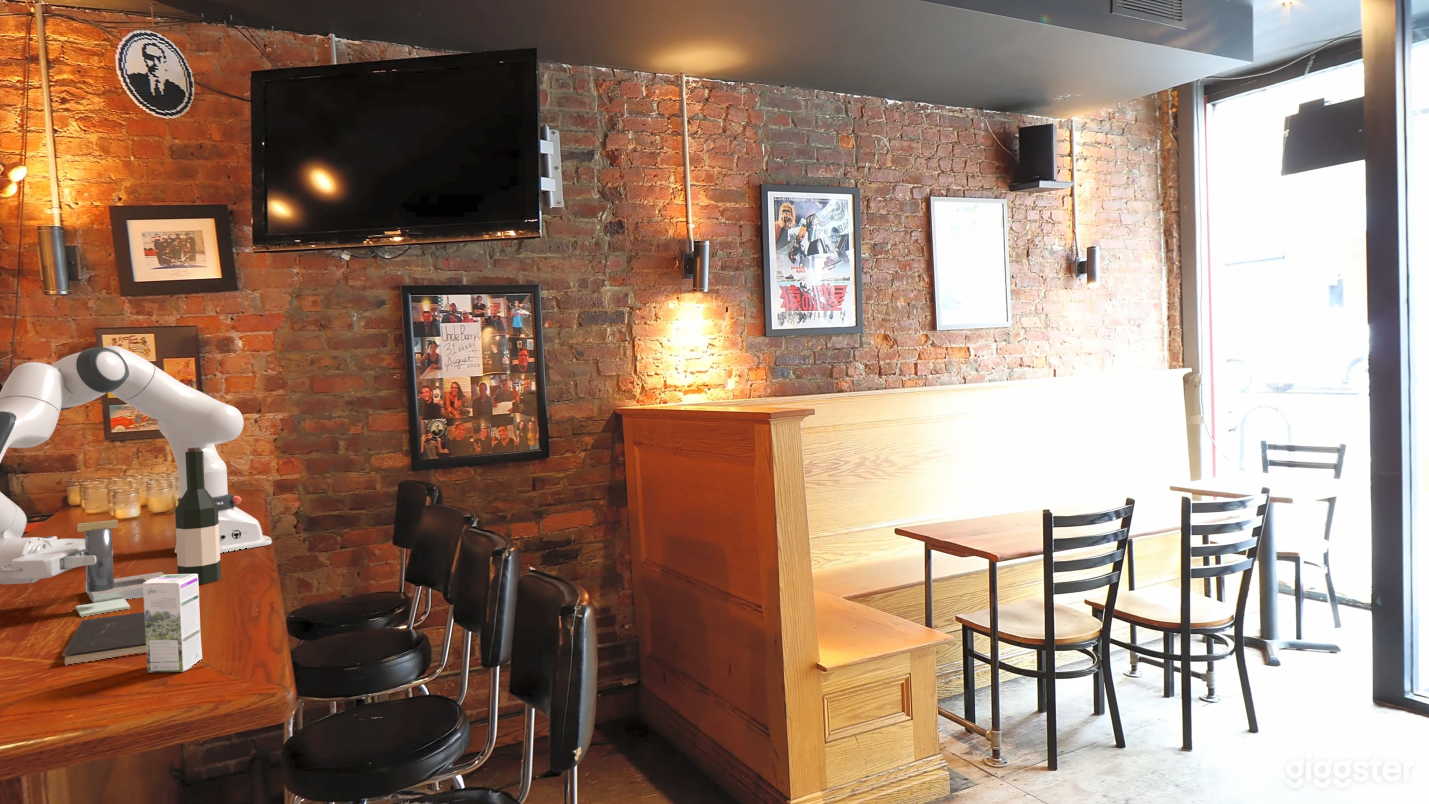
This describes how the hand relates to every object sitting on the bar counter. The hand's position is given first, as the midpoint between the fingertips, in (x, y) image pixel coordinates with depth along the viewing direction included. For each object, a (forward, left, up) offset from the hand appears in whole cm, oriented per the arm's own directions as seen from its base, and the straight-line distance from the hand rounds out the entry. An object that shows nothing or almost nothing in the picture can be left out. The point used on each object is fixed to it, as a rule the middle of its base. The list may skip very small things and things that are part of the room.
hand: (104, 556), depth 173 cm
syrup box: (-3, +50, -11) cm, 51 cm away
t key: (+1, 0, -6) cm, 7 cm away
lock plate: (-5, -12, -11) cm, 17 cm away
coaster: (+1, 0, -11) cm, 11 cm away
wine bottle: (-19, -13, -11) cm, 25 cm away
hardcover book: (0, +26, -11) cm, 29 cm away
